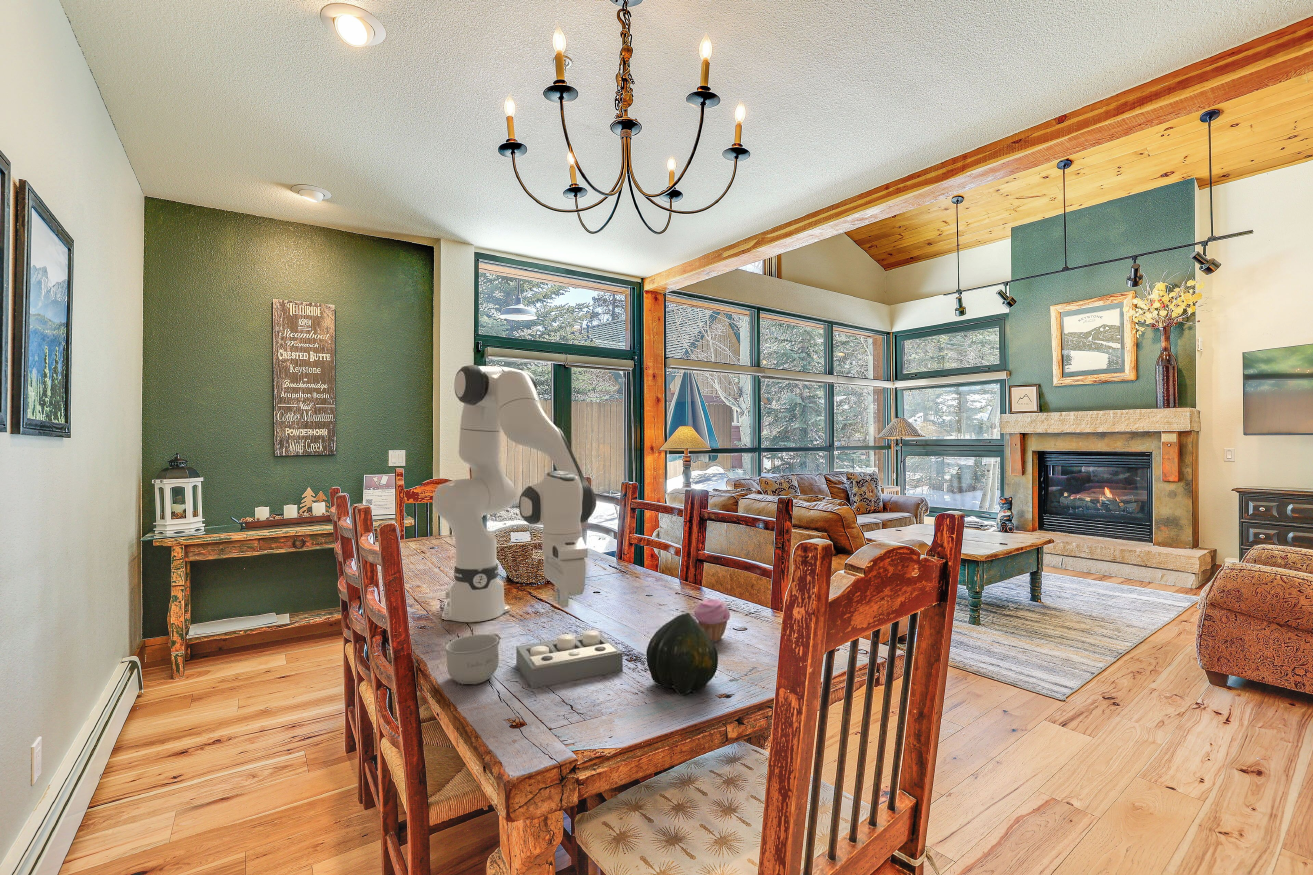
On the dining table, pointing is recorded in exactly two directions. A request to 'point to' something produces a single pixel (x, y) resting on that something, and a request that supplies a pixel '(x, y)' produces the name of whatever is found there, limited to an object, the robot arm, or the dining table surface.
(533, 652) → the button
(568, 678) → the button board
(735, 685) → the dining table surface
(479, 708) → the dining table surface
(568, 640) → the button
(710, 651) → the squash
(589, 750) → the dining table surface
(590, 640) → the button
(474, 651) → the teacup
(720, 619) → the cupcake
